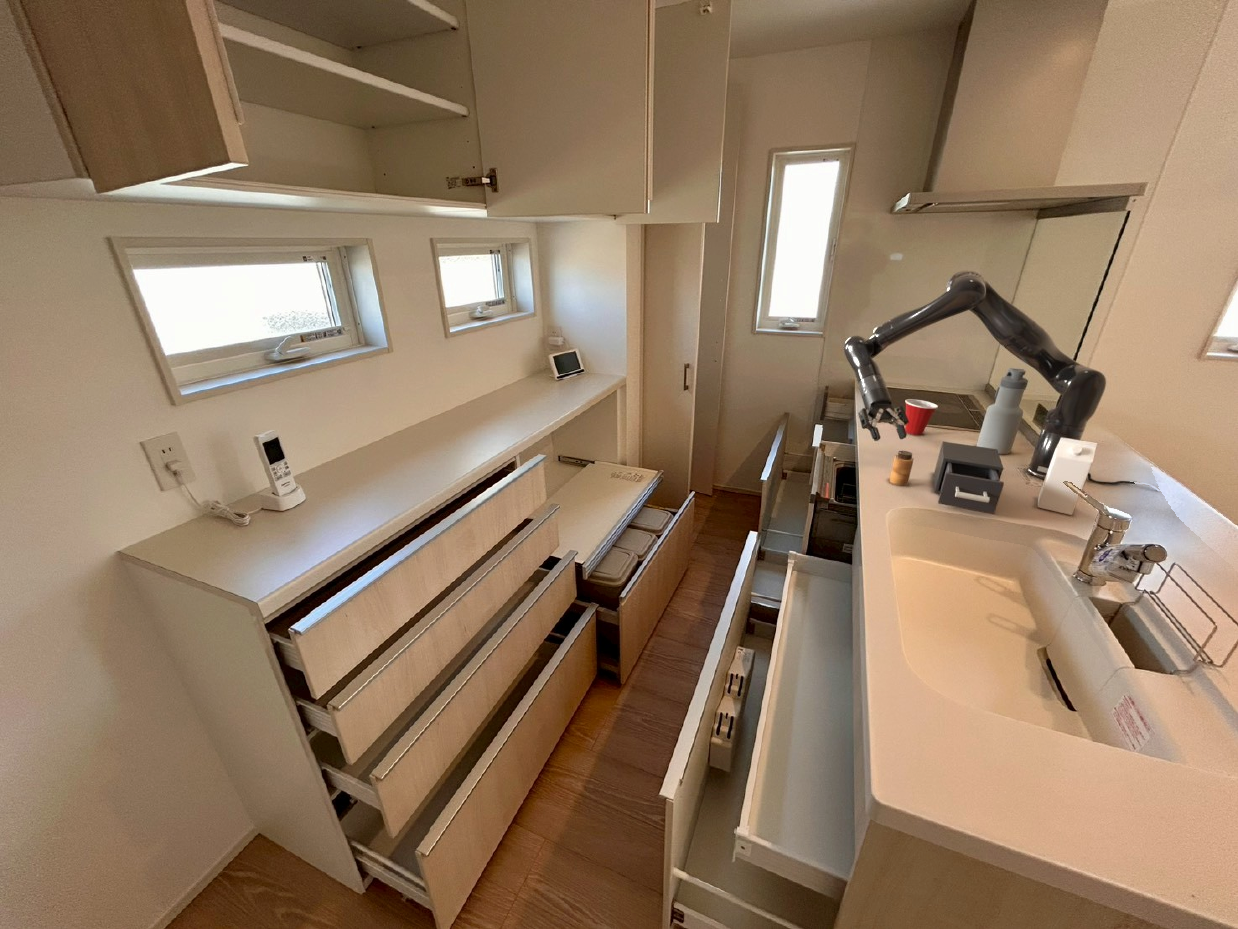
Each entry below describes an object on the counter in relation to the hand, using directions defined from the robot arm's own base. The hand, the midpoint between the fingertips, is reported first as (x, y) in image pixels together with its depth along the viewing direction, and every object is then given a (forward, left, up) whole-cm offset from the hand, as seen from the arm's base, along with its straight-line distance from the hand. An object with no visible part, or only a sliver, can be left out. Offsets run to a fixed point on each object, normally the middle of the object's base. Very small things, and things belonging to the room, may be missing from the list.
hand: (890, 439), depth 150 cm
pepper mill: (-5, +6, -11) cm, 13 cm away
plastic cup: (-8, -47, -11) cm, 49 cm away
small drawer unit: (-21, +1, -11) cm, 23 cm away
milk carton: (-42, +3, -11) cm, 43 cm away
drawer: (-21, +13, -10) cm, 26 cm away
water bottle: (-32, -40, -11) cm, 52 cm away
